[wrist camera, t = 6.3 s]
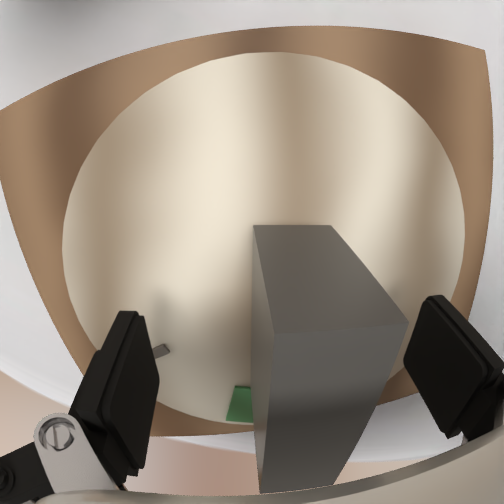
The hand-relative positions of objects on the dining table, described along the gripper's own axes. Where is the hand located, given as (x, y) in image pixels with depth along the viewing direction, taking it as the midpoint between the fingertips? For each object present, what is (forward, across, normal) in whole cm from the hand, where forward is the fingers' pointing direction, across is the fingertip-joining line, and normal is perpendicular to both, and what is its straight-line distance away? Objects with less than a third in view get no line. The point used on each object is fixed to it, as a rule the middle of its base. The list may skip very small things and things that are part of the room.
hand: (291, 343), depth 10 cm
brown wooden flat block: (+6, 0, 0) cm, 6 cm away
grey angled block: (+3, 0, +2) cm, 3 cm away
